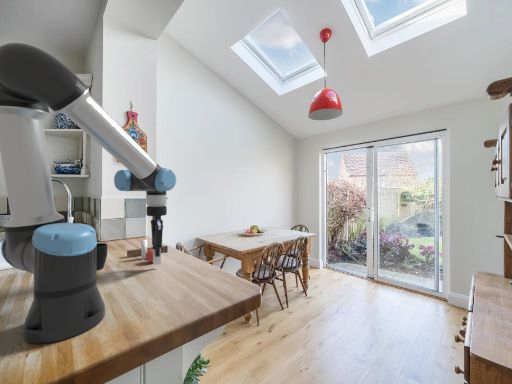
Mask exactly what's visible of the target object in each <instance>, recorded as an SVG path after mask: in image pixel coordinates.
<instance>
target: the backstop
mask: <svg viewBox="0 0 512 384" xmlns="http://www.w3.org/2000/svg"><path fill="white" fill-rule="evenodd" d="M152 247H153V246H152ZM152 247H147V251H149V250H150V249H152ZM168 249H169V248H168V245H162V247H161V254H165V253H168ZM135 257H142V252H141V248H136V249H129V250H128V249H127V250H126V258H127V259H129V258H135Z"/></svg>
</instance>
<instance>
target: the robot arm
mask: <svg viewBox="0 0 512 384" xmlns="http://www.w3.org/2000/svg"><path fill="white" fill-rule="evenodd" d="M50 109H51V110H52V111H53V112H54V113H58V114H63V115H65V116H66V117H67V118H68V119H69V120H71V121H72V122H73V123H74V124H75V125H77V126H78V128H80V129H81V130H82V131H83V132H84V133H86V134H87V135H88V136H89V137H90V138H91V139H93V140H94V141H95V143H96V144H98V145H99V146H100V147H102V148H103V150H105V151H106V152H108V154H110V155H111V156H112V157H113V158H114V159H115V160H116V161H118V162H119V163H120V164H122V166H124V168H126V169H119V170H117V171H116V172H115V174H114V177H113V182H114V183H113V184H114V187H115V189H117V190H118V191H120V192H145V194H146V195H145V205H146V209H145V210H146V216H148V217H152V218H151V220H150V227H151V245H152V249H153V263H152V265H153V266H158V265H161V264H162V260H161V259H162V253H161V247H162V246H163V231H164V225H163V224H164V220H163V219H162V216H167V211H168V209H167V206H166V205H167V200H168V199H169V197H168V196H167V192H169V191H171V190H173V189H174V187H175V186H176V183H177V178H176V173H175V172H174V171H173V170H172V169H170V168H166V167H163V166H160V164H158V163H157V162H156V161H155V159H153V157H152V156H150V155H149V154H148V153H147V152H146V151H145V150H144V149H143V147H141V146H140V144H138V143H137V142H136V140H134V139H133V137H131V135H130V134H129V133H128V132H127V131H126V130H125V129H124V128H123V127H121V125H120V124H119V123H117V121H116V120H115V119H114V118H113V117H112V116H111V115H110V114H109V113H108V112H107V111H106V110H105V109H104V108H103V107H102V106H101V105H100V104H99V103H98V102H97V101H96V100H95V99H94V98H93V97H92V96H91V94H90V88H89V87H88V86H87V85H86V84H85V82H83V80H81V79H80V77H79V76H78V75H77V74H75V73H74V72H73V71H72V70H71V69H70V68H69V67H67V65H65V64H64V63H63V62H62V61H60V60H58V59H57V58H56V57H54V56H53V55H52V54H49V53H48V52H46V51H45V50H43V49H41V48H38V47H36V46H34V45H30V44H28V43H21V42H9V43H5V44H2V45H0V159H1V164H2V171H3V172H2V173H3V177H4V182H5V183H4V184H5V188H6V190H5V191H6V194H7V195H6V196H7V200H8V206H9V212H10V218H9V219H7V221H6V222H4V224H3V225H2V226H3V232H4V238H3V240H2V242H1V246H0V252H1V256H2V257H3V259H4V260H5V262H6V263H7V264H8V265H10V266H11V267H12V268H14V269H17V270H20V271H24V272H28V273H31V274H33V278H32V279H33V300H32V303H31V305H30V308H29V310H28V313H27V315H26V317H25V321H24V322H23V325H22V338H23V340H24V341H25V342H27V343H29V344H30V343H31V344H36V345H37V344H49V343H50V344H51V343H54V342H59V341H63V340H66V339H69V338H73V337H75V336H78V335H81V334H83V333H85V332H86V331H89V330H91V329H93V328H94V327H95V326H97V325H98V324H99V323H101V321H103V319H104V318H105V316H106V305H105V302H104V300H103V298H102V295H101V293H100V291H99V288H98V285H97V284H98V283H97V271H96V245H97V243H98V239H97V233H96V230H95V228H94V227H93V226H91V225H89V224H85V223H81V222H80V223H79V222H77V223H74V222H65V221H66V220H65V216H64V215H63V214H60V212H58V211H57V208H56V204H55V195H54V189H53V182H52V181H53V180H52V175H51V168H50V163H49V162H50V161H49V155H48V147H47V142H46V134H45V128H44V121H45V120H46V119H48V118H49V117H50Z"/></svg>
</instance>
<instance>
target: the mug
mask: <svg viewBox="0 0 512 384" xmlns="http://www.w3.org/2000/svg"><path fill="white" fill-rule="evenodd" d="M107 256H108V243H106V242H97V245H96V272H97V271H99V270H103V269H104V268H105V263H106V262H107Z"/></svg>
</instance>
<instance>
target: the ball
mask: <svg viewBox="0 0 512 384" xmlns="http://www.w3.org/2000/svg"><path fill="white" fill-rule="evenodd" d="M145 260H146V261H147V262H149V263H152V264H153V249H150V250H149V251H148V252H147V253H146V259H145Z"/></svg>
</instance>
